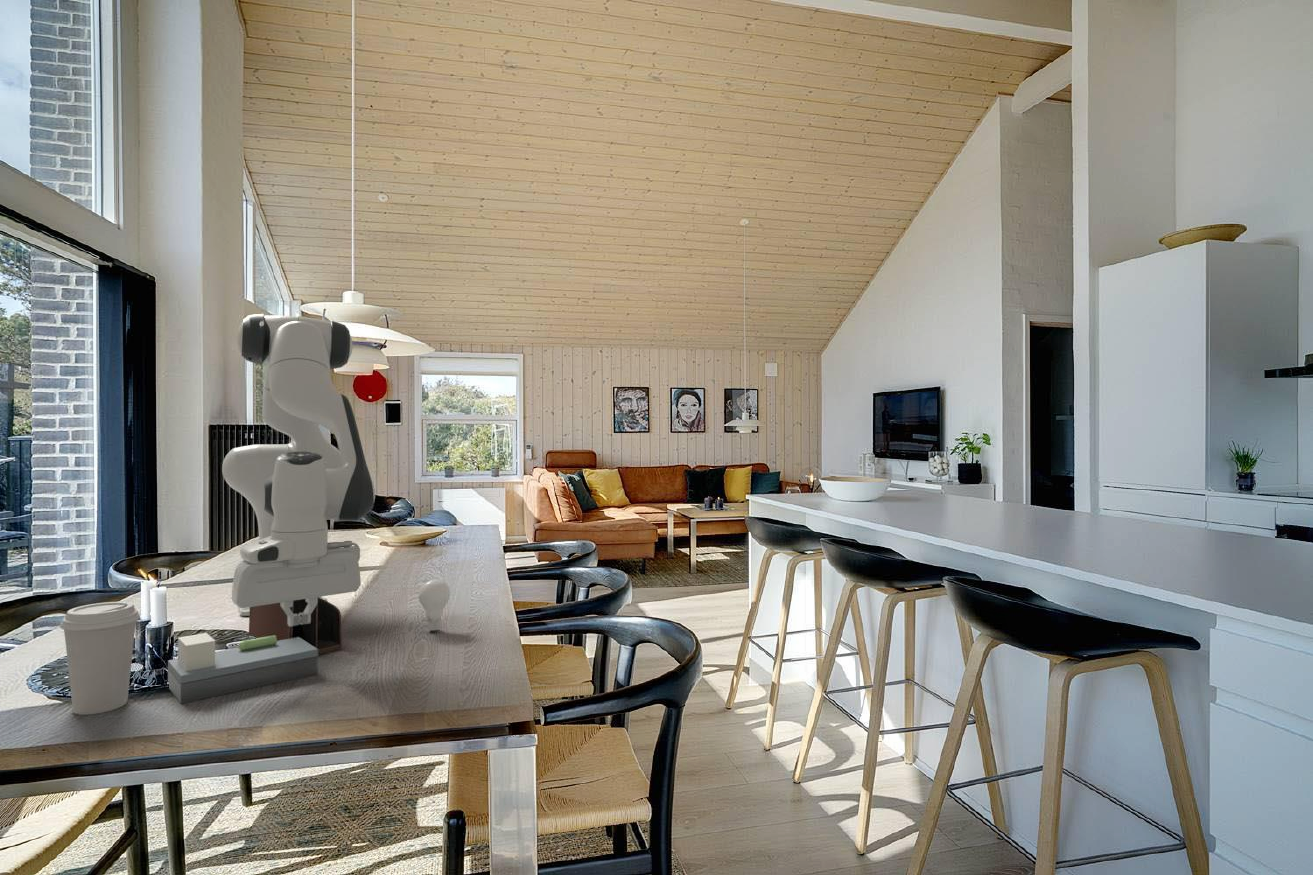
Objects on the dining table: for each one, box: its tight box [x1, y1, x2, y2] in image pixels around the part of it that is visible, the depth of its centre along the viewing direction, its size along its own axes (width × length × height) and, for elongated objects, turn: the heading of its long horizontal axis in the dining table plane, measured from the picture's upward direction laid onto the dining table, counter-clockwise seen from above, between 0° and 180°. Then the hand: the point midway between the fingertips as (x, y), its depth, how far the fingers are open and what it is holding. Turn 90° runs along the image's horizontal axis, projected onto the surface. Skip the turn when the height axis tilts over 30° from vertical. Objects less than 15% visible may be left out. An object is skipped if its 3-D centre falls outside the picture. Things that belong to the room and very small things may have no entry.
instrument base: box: [167, 655, 319, 705], centre depth 119 cm, size 10×20×3 cm, turn 134°
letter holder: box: [248, 597, 343, 656], centre depth 139 cm, size 10×20×14 cm, turn 49°
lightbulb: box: [418, 578, 451, 633], centre depth 149 cm, size 6×6×11 cm
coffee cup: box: [59, 601, 141, 716], centre depth 107 cm, size 10×10×15 cm
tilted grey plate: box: [167, 632, 319, 684], centre depth 119 cm, size 10×20×5 cm, turn 134°
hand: (299, 624), depth 123 cm, fingers closed
